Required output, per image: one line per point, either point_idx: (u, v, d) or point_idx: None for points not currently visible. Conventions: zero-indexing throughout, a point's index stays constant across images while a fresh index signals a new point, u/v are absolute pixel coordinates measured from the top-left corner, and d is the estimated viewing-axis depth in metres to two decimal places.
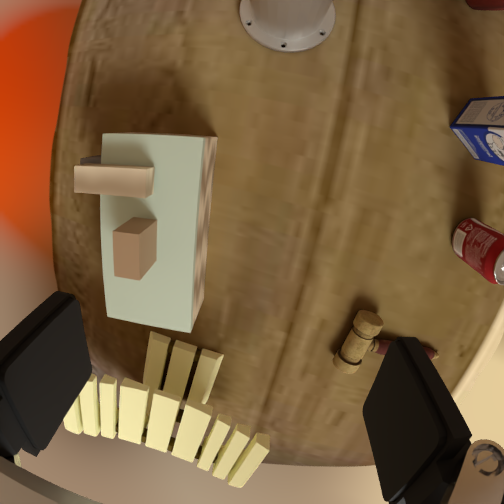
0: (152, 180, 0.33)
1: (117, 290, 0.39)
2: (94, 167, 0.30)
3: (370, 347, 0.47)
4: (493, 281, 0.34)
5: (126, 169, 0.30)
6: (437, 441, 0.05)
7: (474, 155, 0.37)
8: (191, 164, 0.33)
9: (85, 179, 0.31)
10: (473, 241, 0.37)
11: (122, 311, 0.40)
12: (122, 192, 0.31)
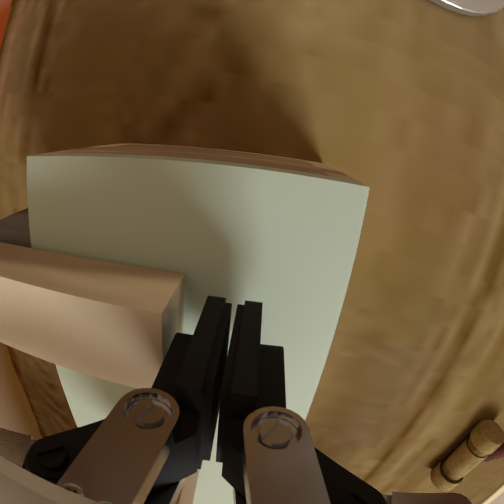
0: (179, 320, 0.10)
1: None
2: None
3: None
4: None
5: (85, 302, 0.08)
6: None
7: None
8: (320, 274, 0.10)
9: None
10: None
11: None
12: (87, 366, 0.09)
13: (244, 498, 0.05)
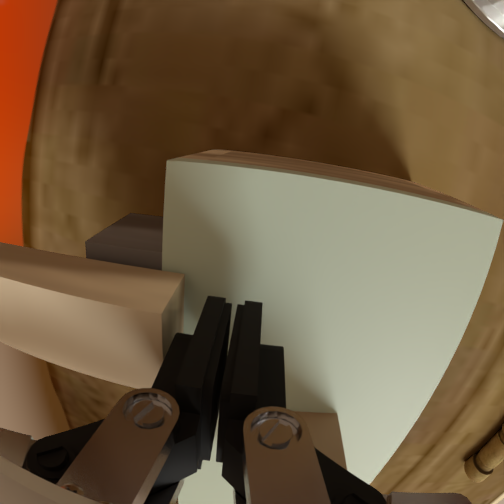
0: (180, 320, 0.10)
1: (206, 495, 0.16)
2: None
3: None
4: None
5: (85, 302, 0.08)
6: None
7: None
8: (463, 291, 0.10)
9: None
10: None
11: None
12: (87, 366, 0.09)
13: (244, 498, 0.05)
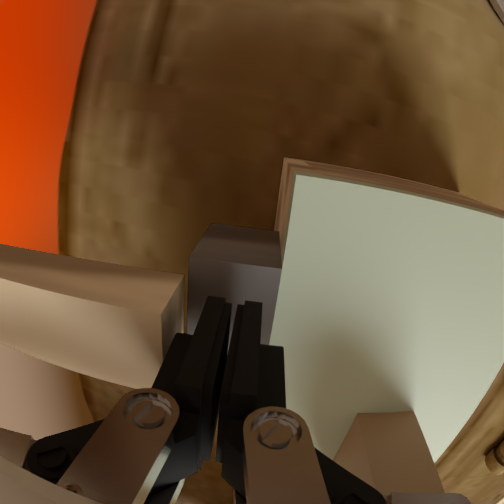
0: (179, 320, 0.10)
1: None
2: None
3: None
4: None
5: (85, 303, 0.08)
6: None
7: None
8: None
9: None
10: None
11: None
12: (87, 367, 0.09)
13: (244, 498, 0.05)
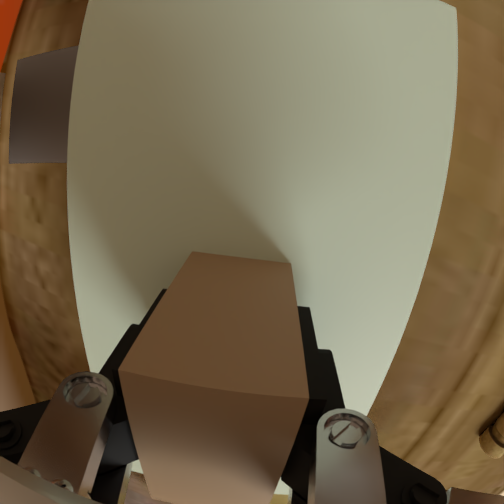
0: None
1: None
2: None
3: None
4: None
5: None
6: None
7: None
8: (431, 75, 0.07)
9: None
10: None
11: None
12: None
13: (300, 496, 0.05)
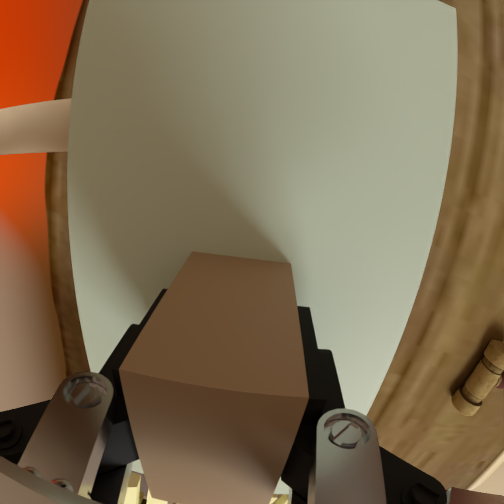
0: None
1: None
2: (7, 109, 0.14)
3: (495, 382, 0.30)
4: None
5: (52, 102, 0.14)
6: None
7: None
8: (430, 75, 0.07)
9: None
10: None
11: None
12: (44, 145, 0.15)
13: (300, 496, 0.05)
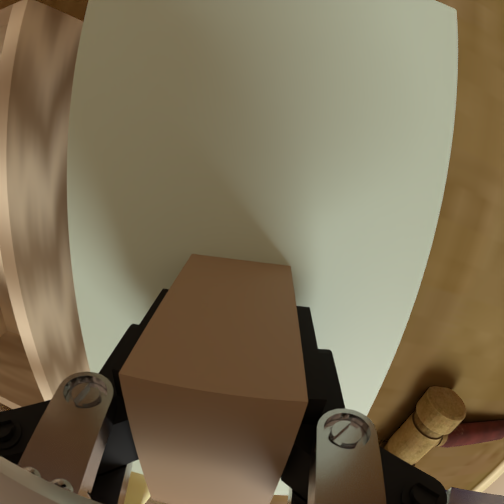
0: None
1: None
2: None
3: (435, 443, 0.22)
4: None
5: None
6: None
7: None
8: (431, 77, 0.07)
9: None
10: None
11: None
12: None
13: (300, 496, 0.05)
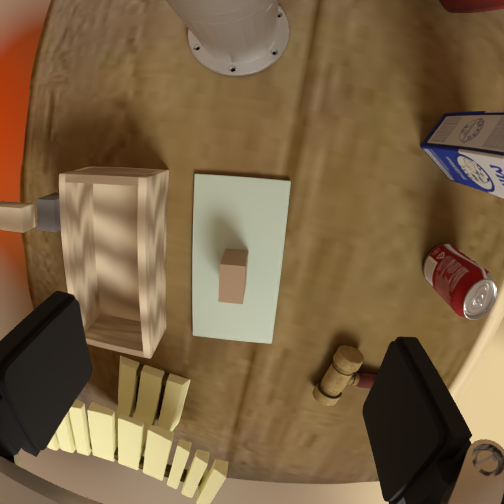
0: (31, 215, 0.32)
1: (205, 311, 0.46)
2: None
3: (350, 381, 0.47)
4: (463, 315, 0.33)
5: (9, 208, 0.30)
6: (437, 441, 0.05)
7: (448, 176, 0.37)
8: (280, 204, 0.40)
9: None
10: (443, 271, 0.36)
11: (209, 329, 0.47)
12: (9, 227, 0.31)
13: None
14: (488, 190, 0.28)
